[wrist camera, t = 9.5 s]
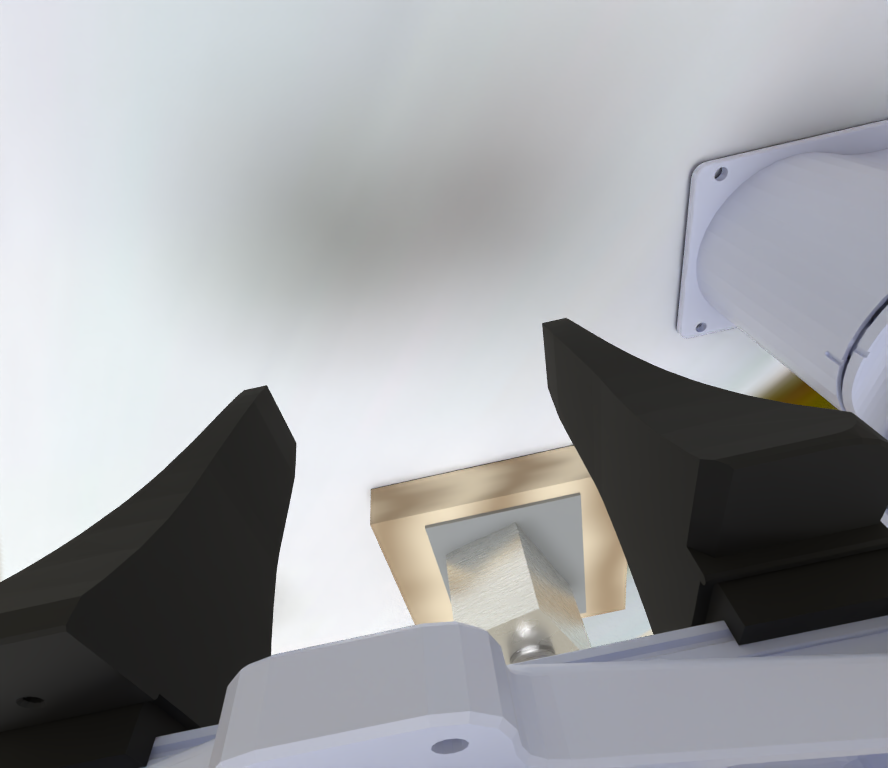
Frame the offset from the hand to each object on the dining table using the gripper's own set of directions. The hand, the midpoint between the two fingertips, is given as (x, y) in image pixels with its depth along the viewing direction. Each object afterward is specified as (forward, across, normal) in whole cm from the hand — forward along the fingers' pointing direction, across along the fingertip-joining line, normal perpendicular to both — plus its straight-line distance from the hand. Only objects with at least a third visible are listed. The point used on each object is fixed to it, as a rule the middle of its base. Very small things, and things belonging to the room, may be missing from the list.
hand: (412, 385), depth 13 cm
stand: (+9, -2, +20) cm, 22 cm away
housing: (+7, -2, +20) cm, 21 cm away
